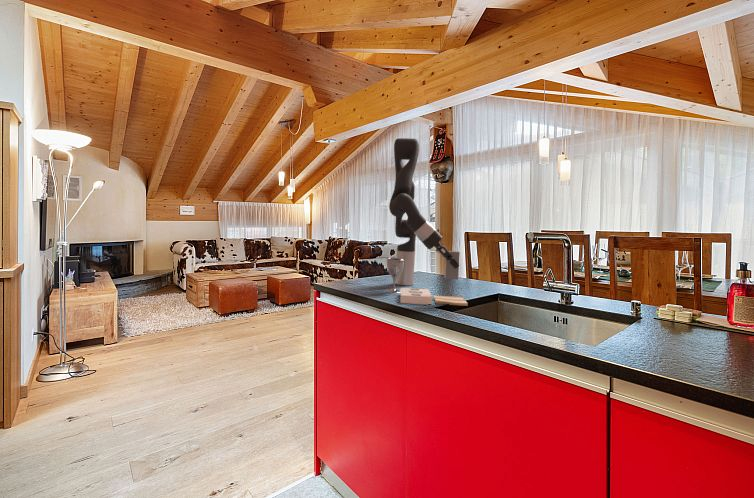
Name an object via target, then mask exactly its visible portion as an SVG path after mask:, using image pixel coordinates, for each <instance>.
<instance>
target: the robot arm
mask: <svg viewBox="0 0 754 498" xmlns="http://www.w3.org/2000/svg"><path fill="white" fill-rule="evenodd" d="M419 142H420V141H419V140H418V139H417V138H411V137H410V138H408V137H407V138H399V137H398V138H396V139H395V140H394V144H393V153H394V156H393V158H394V168H395V170H394V171H395V181H394V189H393V192H392V195H391V197H390V201H389V205H388V208H389V211H390V214H391V215H392V216H394V217H395V221H394V222H395V223H394V224H395V225H394V227H395V228H394V229H395V230H394V232H395V236H396V237H397V238H401V239H402V238H403V239H404V238H405V239H409V240H407V241H406V242H404V243H401V244H398V245H397V247H396V248H397V249H396V258H401V259H404V267H403V270H402V272H401V273H400V274H399V275H398V277H397V278H396V282H395V285H399V286H414V283H415V282H414V279H415V261H416V260H415V259H416V237H417V239H418V240H419V241H420V242H421V243H422V244H423V245H424V246H425V247H426V249H427V250H431V249H433V248H435V252H436V253H437V254H439V255H440V257H441V258H442V259H444V260H445V258H446V259H447V261H448V262H450V264H451V265H452V266H453V267H454V268H455V269H456V268H457V267H460V263H459V264H458V263H457V262H456V261H455V260H454V258H453V256H452V255H451V254H450V252H449V251H450V250H449V249H447V247H446V245H445V244H443V243H442V244H441V243H440V241H442V240H443V236H442V235H441V234H440V232H438V230H437V229H436V228H435V227H434V226H433V225H432V224H431V223H430V222H429V221H427V220H426V218H425V217H424V216H423V215H422V214H421V212H420V210H419V208H418V206H417V204H416V203H415V201H414V200H415V183H414V180H413V177H414V172H415V170H416V166H417V163H418V159H419V155H420V143H419ZM405 160H407V161H408V162H407V163H406V164H405V165H404V163H403V161H405ZM405 214H406V216H407V219H403V216H404V215H405ZM448 255H450V256H449V257H448V258H447V256H448Z"/></svg>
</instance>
